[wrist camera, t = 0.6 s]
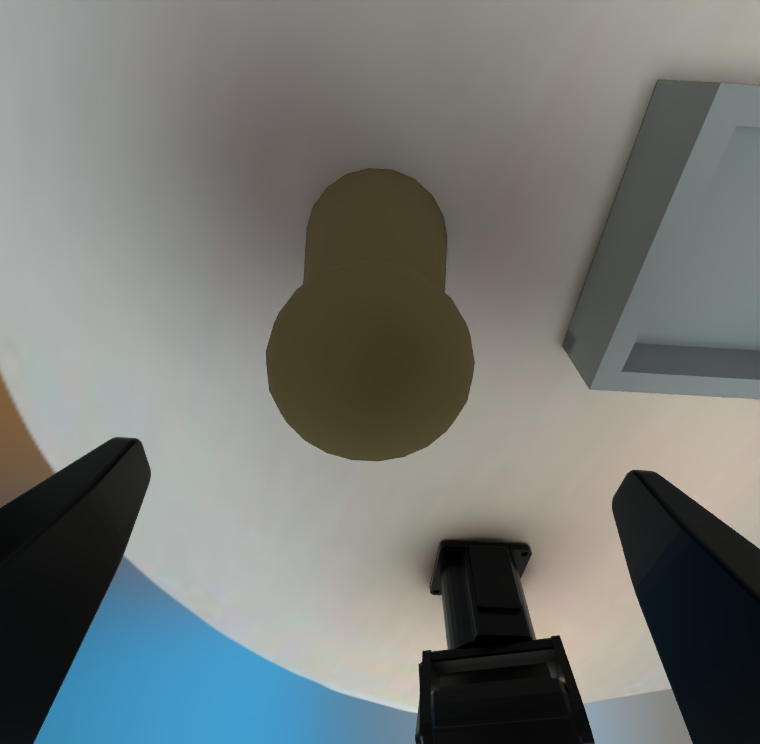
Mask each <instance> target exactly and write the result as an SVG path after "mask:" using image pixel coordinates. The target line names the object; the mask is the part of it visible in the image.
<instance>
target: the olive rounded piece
mask: <svg viewBox="0 0 760 744" xmlns="http://www.w3.org/2000/svg"><path fill="white" fill-rule="evenodd" d="M446 252H447V234H446V228H445V223H444V217H443V214H442V212H441V211H440V209H439V207H438V205H437V203H436V201H435V199H434V198H433V196H432V195H431V194H430V193H429V192H428V191H427V190H426V189H425V188H424V187H423V186H422V185H420V184H419V183H418V182H417V181H416V180H415V179H413V178H410V177H408V176H406V175H403V174H401V173H399V172H397V171H394V170H387V169H372V168H368V169H364V170H361V171H357V172H354V173H350V174H347V175H345V176H343V177H342V178H340V179H339V180H338V181H336V182H335V183H333V184H332V185H331V186H329V187H328V188H326V190H325V191H324V192H323V194H322V195H321V197H320V198H319V200H318V201H317V202H316V204H315V205H314V207H313V209H312V212H311V216H310V219H309V223H308V226H307V232H306V249H305V266H304V282H303V285H302V286H301V287H299V288H298V289H297V290H296V291H295V293H294V294H293V295H292V296H291V298H290V299H289V300H288V302H287V303H286V304H285V306H284V307H283V308H282V309H281V311H280V312H279V314H278V316H277V318H276V320H275V322H274V325H273V329H272V332H271V336H270V339H269V343H268V346H267V350H266V364H267V374H268V383H269V391H270V393H271V395H272V397H273V399H274V401H275V403H276V405H277V407H278V408H279V410H280V412H281V414H282V416H283V417H284V419H285V420H286V422H287V423H288V424H289V425H290V426H291V427H292V428H293V429H294V430H295V431H296V432H297V433H298V434H299V435H300V436H301V437H302V438H303V439H304V440H305V441H307V442H308V443H310V444H312V445H314V446H316V447H317V448H319V449H321V450H323V451H324V452H326V453H329V454H333V455H336V456H340V457H343V458H347V459H351V460H364V461H383V460H388V459H394V458H400V457H405V456H407V455H409V454H411V453H414V452H416V451H418V450H421V449H423V448H425V447H427V446H429V445H430V444H431V443H432V442H434V441H435V440H436V439H437V438H439V437H440V436H441V435H442V434H443V433H445V432H446V431H447V430H448V428H449V427H450V426H451V425H452V424H453V422H454V421H455V419H456V418H457V416H458V414H459V413H460V411H461V410H462V408H463V407H464V405H465V404H466V402H467V400H468V395H469V391H470V386H471V382H472V378H473V371H474V363H475V362H474V356H473V350H472V344H471V337H470V333H469V330H468V328H467V325H466V322H465V321H464V319H463V317H462V316H461V314H460V312H459V311H458V309H457V307H456V306H455V304H454V302H453V301H452V299H451V297H449V296H448V295H447V294H446V293H445V277H446Z"/></svg>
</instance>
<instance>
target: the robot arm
mask: <svg viewBox="0 0 760 744" xmlns="http://www.w3.org/2000/svg"><path fill="white" fill-rule="evenodd" d="M150 478H151V470H150V466H149V463H148V460H147V457H146V454H145V451H144V448H143V445H142V443H141V441H140V440H139V439H136V438H124V437H115V438H112V439H110V440H109V441H107V442H105V443H104V444H102V445H100V446H99V447H97V448H96V449H94V450H92V451H91V452H89V453H88V454H86V455H84V456H83V457H81V458H80V459H78V460H76V461H75V462H73V463H72V464H70V465H68V466H67V467H65V468H64V469H62V470H60V471H59V472H57V473H56V474H54V475H52V476H51V477H49V478H47V479H46V480H44V481H43V482H41V483H40V484H38V485H36V486H35V487H33V488H31V489H30V490H28V491H27V492H25V493H23V494H22V495H20V496H19V497H17V498H15V499H14V500H12V501H11V502H9V503H7V504H6V505H4V506H2V507H1V508H0V744H33V743H34V741H35V739H36V737H37V735H38V733H39V731H40V729H41V727H42V725H43V723H44V721H45V718H46V716H47V714H48V712H49V710H50V708H51V706H52V704H53V702H54V700H55V698H56V696H57V694H58V691H59V689H60V687H61V685H62V683H63V681H64V679H65V677H66V675H67V673H68V671H69V669H70V667H71V665H72V662H73V660H74V658H75V656H76V654H77V652H78V650H79V648H80V646H81V644H82V642H83V640H84V638H85V636H86V634H87V631H88V629H89V627H90V625H91V623H92V621H93V619H94V617H95V615H96V612H97V611H98V609H99V607H100V605H101V602H102V600H103V598H104V596H105V594H106V592H107V590H108V588H109V586H110V583H111V581H112V579H113V577H114V576H115V573H116V571H117V569H118V566H119V564H120V562H121V560H122V557H123V555H124V552H125V550H126V547H127V544H128V541H129V538H130V536H131V533H132V530H133V527H134V524H135V522H136V519H137V516H138V513H139V510H140V508H141V505H142V502H143V499H144V496H145V494H146V491H147V488H148V485H149V482H150ZM612 510H613V515H614V518H615V522H616V526H617V529H618V533H619V537H620V540H621V544H622V548H623V551H624V555H625V559H626V562H627V566H628V570H629V573H630V577H631V580H632V584H633V587H634V590H635V593H636V596H637V598H638V601H639V604H640V607H641V609H642V612H643V614H644V617H645V620H646V622H647V625H648V628H649V630H650V633H651V635H652V638H653V641H654V643H655V646H656V648H657V651H658V654H659V656H660V659H661V661H662V664H663V667H664V669H665V672H666V675H667V677H668V680H669V682H670V685H671V688H672V690H673V693H674V695H675V698H676V701H677V703H678V706H679V708H680V711H681V713H682V716H683V719H684V721H685V724H686V726H687V729H688V732H689V735H690V737H691V740H692V742H693V744H760V549H759V548H758V547H756V546H755V545H754V544H752V543H751V542H750V541H748V540H747V539H746V538H744V537H743V536H741V535H740V534H739V533H737V532H736V531H735V530H733V529H732V528H731V527H729V526H728V525H727V524H725V523H724V522H723V521H721V520H720V519H718V518H717V517H716V516H714V515H713V514H712V513H710V512H709V511H708V510H706V509H705V508H704V507H702V506H701V505H700V504H698V503H697V502H696V501H694V500H693V499H691V498H690V497H689V496H687V495H686V494H685V493H683V492H682V491H681V490H679V489H678V488H677V487H675V486H674V485H673V484H671V483H670V482H668V481H667V480H666V479H664V478H663V477H662V476H660V475H659V474H657V473H656V472H653V471H643V470H632V471H630V472H628V473H627V475H626V476H625V478H624V480H623V481H622V483H621V485H620V487H619V488H618V490H617V492H616V493H615V495H614V497H613V500H612ZM531 555H532V552H531V549H530V547H529V546H528V545H515V544H494V543H473V542H452V541H445V542H442V543H441V544H440V546H439V550H438V554H437V558H436V562H435V566H434V570H433V575H432V579H431V583H430V593H431V594H433V595H442V600H443V610H444V619H445V628H446V638H447V647H448V650H442V651H433V652H432V651H431V650H427V651H423V653H422V662H421V663H420V664H419V680H420V699H419V708H418V718H417V726H416V734H415V741H416V744H595V742H594V739H593V735H592V731H591V728H590V725H589V721H588V718H587V715H586V712H585V708H584V705H583V702H582V699H581V696H580V693H579V691H578V688H577V685H576V682H575V679H574V676H573V673H572V670H571V667H570V664H569V661H568V659H567V656H566V653H565V650H564V647H563V644H562V641H561V638H560V636H559V635H558V636H551V638H547V639H538V640H536V637H535V633H534V629H533V626H532V622H531V618H530V614H529V610H528V607H527V603H526V599H525V595H524V591H523V588H522V584H521V580H520V579H521V576H522V574H523V572H524V570H525V568H526V565H527V563H528V561H529V559H530V557H531Z"/></svg>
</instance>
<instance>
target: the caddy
mask: <svg viewBox="0 0 760 744" xmlns="http://www.w3.org/2000/svg"><path fill="white" fill-rule="evenodd" d="M562 347H563V348H564V350H565V351H566V353H567V355H568V356H569V358H570V359H571V361H572V362H573V364H574V366H575V367H576V369H577V370H578V372H579V373H580V375H581V377H582V378H583V380H584V381H585V383H586V385H587V386H588V388H589V389H591V390H609V391H626V392H643V393H661V394H678V395H695V396H713V397H730V398H747V399H760V86H756V85H744V84H731V83H716V82H695V81H673V80H658V81H657V84H656V87H655V90H654V92H653V95H652V98H651V101H650V104H649V106H648V109H647V112H646V115H645V117H644V120H643V123H642V126H641V129H640V131H639V134H638V137H637V140H636V143H635V145H634V148H633V151H632V154H631V157H630V159H629V162H628V165H627V168H626V171H625V173H624V176H623V179H622V182H621V184H620V187H619V190H618V193H617V196H616V198H615V201H614V204H613V207H612V210H611V212H610V215H609V218H608V221H607V224H606V226H605V229H604V232H603V235H602V237H601V240H600V243H599V246H598V249H597V251H596V254H595V257H594V260H593V263H592V265H591V268H590V271H589V274H588V277H587V279H586V282H585V285H584V288H583V291H582V293H581V296H580V299H579V302H578V304H577V307H576V310H575V313H574V316H573V318H572V321H571V324H570V327H569V330H568V332H567V335H566V338H565V341H564V344H563V346H562Z"/></svg>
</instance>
